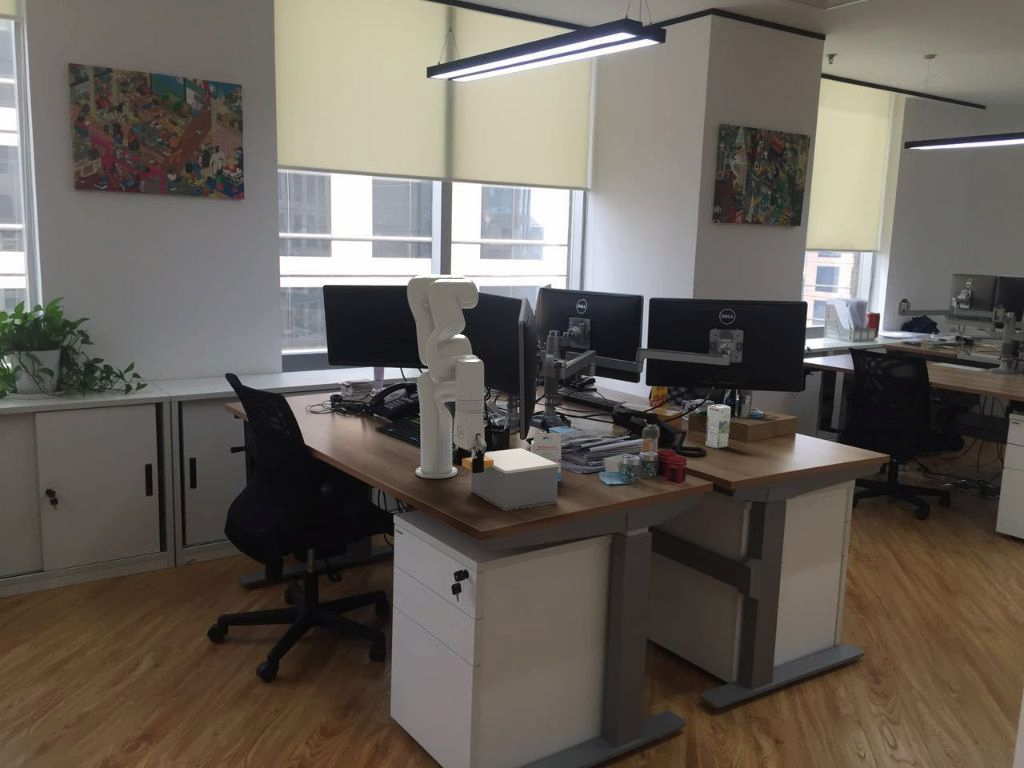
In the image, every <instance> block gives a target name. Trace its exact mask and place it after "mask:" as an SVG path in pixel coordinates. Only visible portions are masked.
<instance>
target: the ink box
mask: <svg viewBox="0 0 1024 768" xmlns="http://www.w3.org/2000/svg"><path fill="white" fill-rule="evenodd" d="M547 437H549V438H547ZM545 438H547V439H545ZM561 439H562V433H560V432H555V433H553V432H551V433H550V432H547V433H533V440H531V442H530V443H531V444H530V452H531V453H534V454H536V455H538V456H541V457H543V458H545V459H548V460H550V461H552V462H555V463H557V464H558V482H557V483H560V482H561V481H562V440H561Z"/></svg>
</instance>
